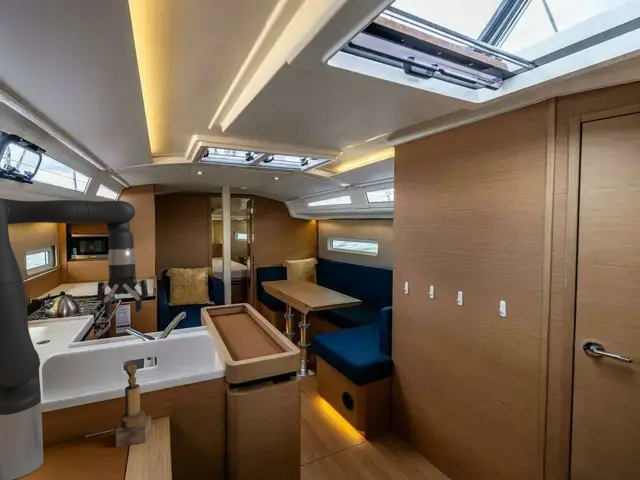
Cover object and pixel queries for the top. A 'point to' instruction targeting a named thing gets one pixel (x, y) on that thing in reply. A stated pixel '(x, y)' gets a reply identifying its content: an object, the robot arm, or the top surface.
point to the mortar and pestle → (132, 401)
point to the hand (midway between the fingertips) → (123, 312)
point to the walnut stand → (133, 433)
